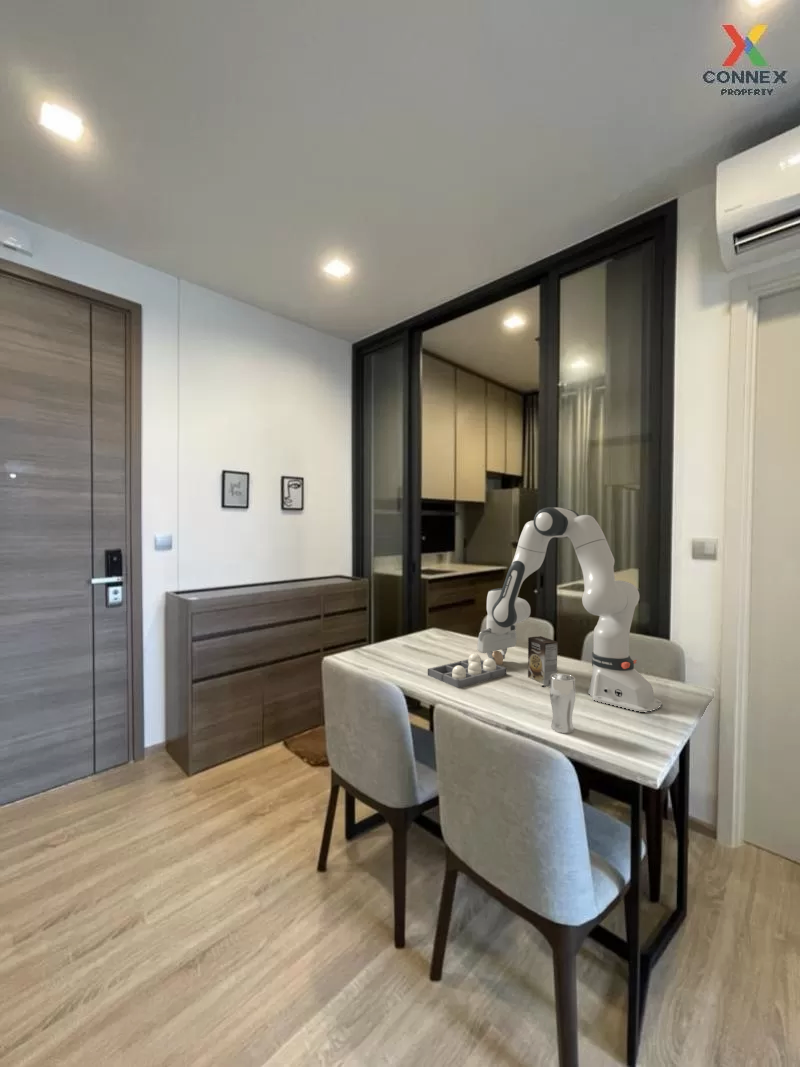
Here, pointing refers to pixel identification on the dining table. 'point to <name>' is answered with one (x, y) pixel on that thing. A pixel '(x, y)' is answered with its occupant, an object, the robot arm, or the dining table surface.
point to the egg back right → (474, 658)
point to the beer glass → (562, 701)
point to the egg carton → (445, 674)
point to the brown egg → (498, 657)
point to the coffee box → (542, 659)
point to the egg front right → (489, 664)
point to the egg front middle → (474, 668)
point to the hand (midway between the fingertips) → (497, 660)
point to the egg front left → (459, 672)
